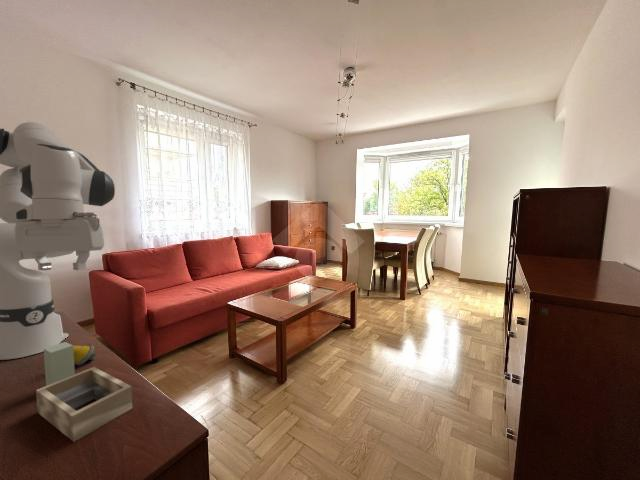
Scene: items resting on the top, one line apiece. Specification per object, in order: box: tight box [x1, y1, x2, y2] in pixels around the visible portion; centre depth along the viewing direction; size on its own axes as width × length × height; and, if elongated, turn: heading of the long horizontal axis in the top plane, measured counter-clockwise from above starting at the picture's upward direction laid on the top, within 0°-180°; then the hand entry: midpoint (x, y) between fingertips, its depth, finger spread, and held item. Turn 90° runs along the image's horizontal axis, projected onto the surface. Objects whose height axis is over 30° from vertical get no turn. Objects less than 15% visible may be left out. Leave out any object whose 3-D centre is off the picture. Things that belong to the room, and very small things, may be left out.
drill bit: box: [73, 344, 97, 366], centre depth 74 cm, size 5×5×10 cm
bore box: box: [35, 366, 133, 443], centre depth 57 cm, size 16×10×5 cm, turn 63°
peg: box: [43, 341, 76, 386], centre depth 64 cm, size 4×4×10 cm
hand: (62, 270), depth 64 cm, fingers open, 8 cm apart
